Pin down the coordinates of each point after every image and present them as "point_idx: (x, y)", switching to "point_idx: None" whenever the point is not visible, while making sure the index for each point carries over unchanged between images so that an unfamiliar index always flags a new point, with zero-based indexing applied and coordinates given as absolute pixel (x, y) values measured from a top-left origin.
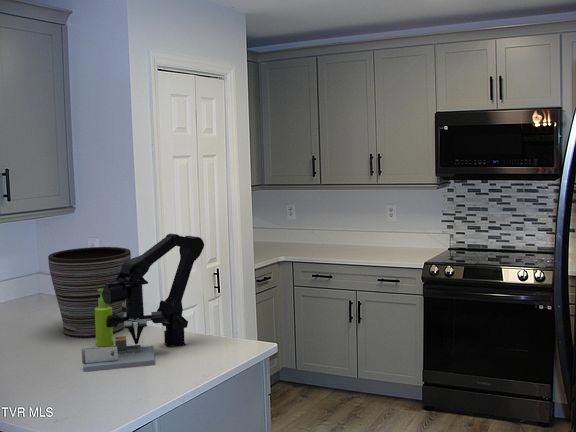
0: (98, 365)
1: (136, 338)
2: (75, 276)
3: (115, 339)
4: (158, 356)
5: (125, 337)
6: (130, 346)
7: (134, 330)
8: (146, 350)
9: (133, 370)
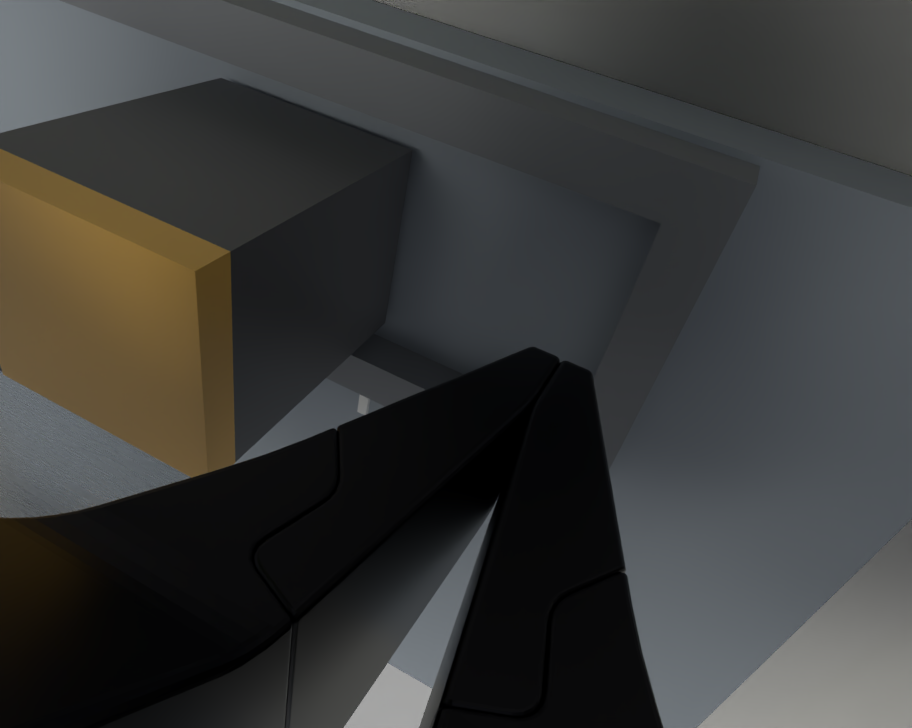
0: None
1: (493, 512)
2: None
3: (10, 374)
4: (867, 610)
5: (191, 412)
6: (485, 153)
7: (313, 694)
8: (737, 481)
9: (405, 677)
